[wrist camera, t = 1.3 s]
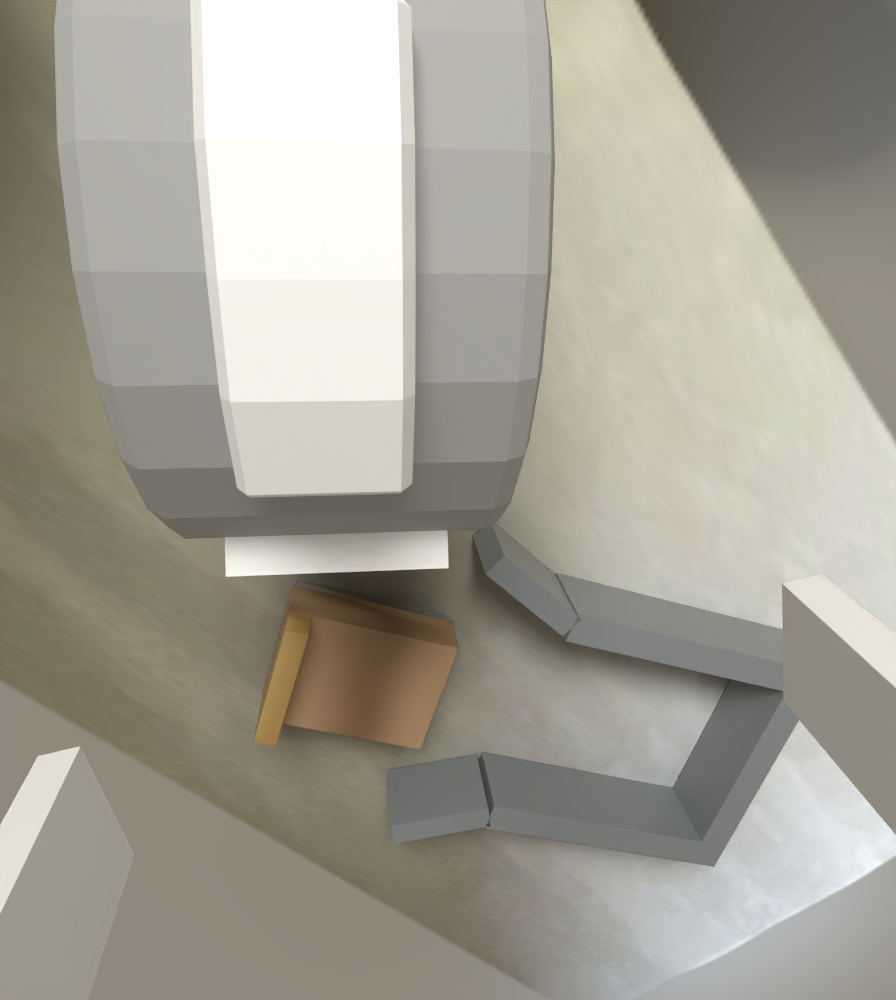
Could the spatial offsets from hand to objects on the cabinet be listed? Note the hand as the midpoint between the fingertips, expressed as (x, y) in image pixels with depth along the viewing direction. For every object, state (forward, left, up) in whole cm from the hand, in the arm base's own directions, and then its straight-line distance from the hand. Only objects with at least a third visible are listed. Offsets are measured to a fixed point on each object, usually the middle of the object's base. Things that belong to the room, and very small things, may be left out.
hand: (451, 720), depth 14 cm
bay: (+14, -12, -21) cm, 29 cm away
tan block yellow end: (+2, -12, -22) cm, 25 cm away
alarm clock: (-4, +7, -22) cm, 23 cm away
